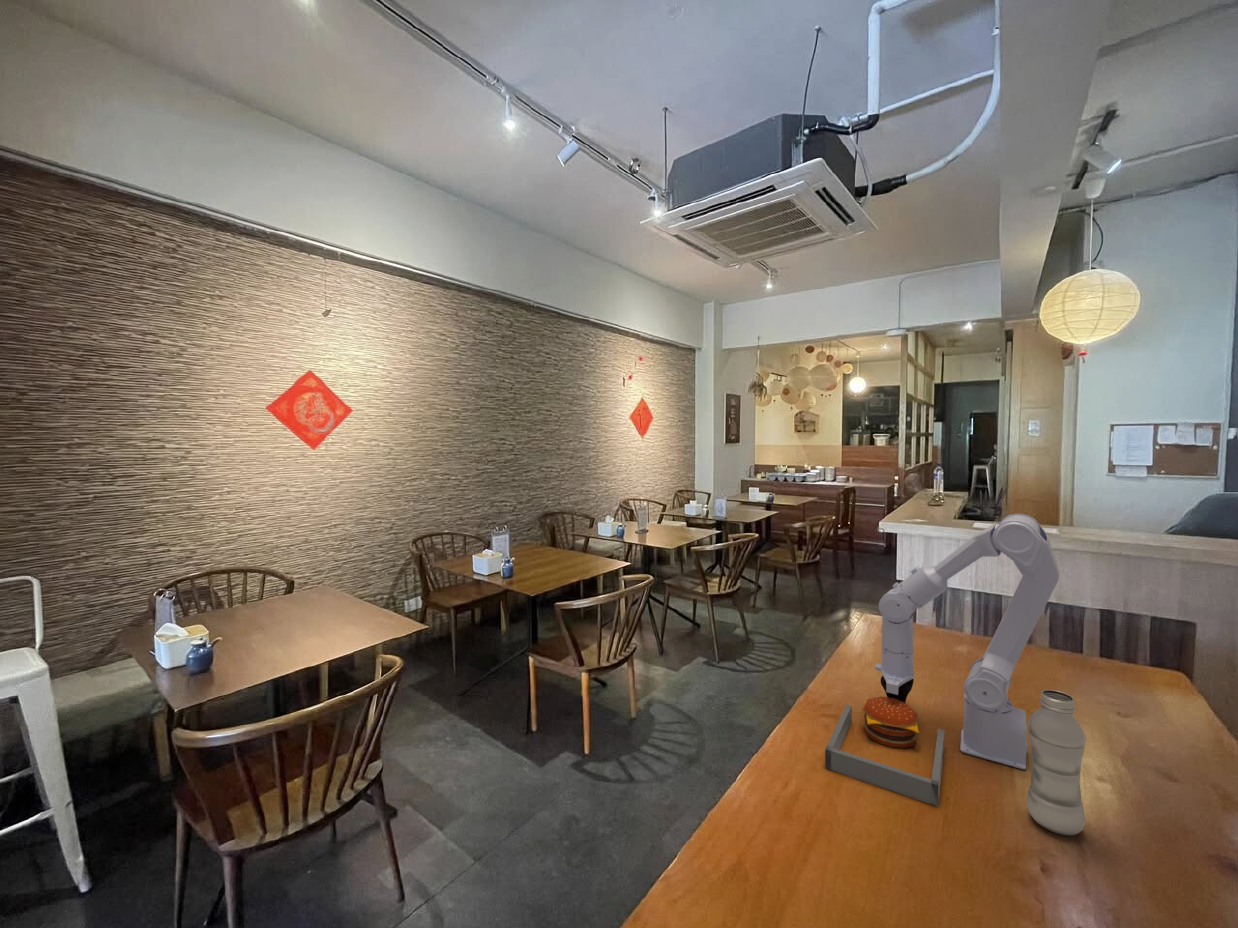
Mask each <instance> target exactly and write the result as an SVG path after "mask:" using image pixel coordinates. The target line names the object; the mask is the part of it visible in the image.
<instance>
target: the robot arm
mask: <svg viewBox="0 0 1238 928" xmlns="http://www.w3.org/2000/svg"><path fill="white" fill-rule="evenodd" d="M1049 538H1050V537H1049V535H1048V533H1047V532H1046V530H1045V529H1044V528H1043V527H1042V526H1041V524H1040V523H1039V522H1038V521H1037V520H1036V519H1035V518H1033V517H1032V516H1030V515H1028V514H1023V513H1013V514H1009V515H1007V516H1005V517H1003V518H1002V519H1001V520H1000V521H999V523H998V525H997V522H996V523H993V524H991V525H989V526H988V527H986V528H984V529H983V530H980V531H979V532H977V533H975V534H974V535H973V536H971V537H970V538H969V539H968V540H967V541H965V542H964V543H962V544H961V545H960V546H959V547H958V548H957V549H955V550H954V551H953V552H951V553H950V554H949V555H947V556H946V557H945V558H944V559H942V560H941V561H940V562H938V563H937V564H935V566H934V565H933V566H932V565H931V566H930V565H922V566H921V567H918V566H915V567H914V568H913V569H911V570H910V573H911V574H910V575H908V577H907V578H905V579H904V580H902V581H901V582H900V583H899V582H895V583H894V584H893V585H892V589H890V590H888V591H887V592H886V593H885V594H883V596H882V597H881V598H880V600H879V603H878V610H879V613H880V614H881V615H882V617H881V663H878V662H877V663H875V665H874V669H875V670H876V671H879V672H880V673H881V674H882V676H880V684H881V686H882V688H883V690H884V692H885V695H886V697H889V698H894V699H897V700H899V701H902V702H904V703H906V704H907V702H906V701H907V697H908V695H909V694H910V692H911V691H912V689H913V686H914V682H915V681H914V678H915V671H914V632H915V631H914V615H913V614H914V613H915V612H916V611H917V610H918V609H922V608H923V607H924V606H926V605H928V604H929V603H930V602H932V601H933V600H935V599H936V598H937V597H938V596H940V595H942V594H943V593H945V592H946V591H947V590H948V580H949V579H951V578H952V577H954V576H956V575H957V574H958V573H960V572H961V571H963V570H964V569H966V568H967V567H969V566H970V565H971V564H972V565H973V563H975V562H976V561H979V559H981V558H984V557H987V558H988V557H990V558H991V557H1000V555H1001V553H1002V554H1004V555H1005V556H1006V557H1007V558H1009V560H1011V561H1013V564H1015V567H1016V568H1017V569H1018V571H1019V572H1020V574H1021V576H1022V577H1021V579H1020V581H1019V583H1018V585H1017V587H1016V589H1015V591H1014V593H1013V595H1012V596H1011V597H1012V598H1011V600H1010V602H1009V603H1008V605H1007V607H1006V609H1005V612H1004V614H1003V616H1002V618H1001V620H1000V622H999V624H998V626H997V628H996V630H995V632H994V634H993V637H992V639H991V640H990V643H989V645H988V647H987V648H986V650H985V653H984V654H983V656H982V657H980V658H979V659H977V660H975V661H974V662H973V663H972V664H971V667H970V672H969V674H968V677H967V678H966V679H965V681H964V683H963V691H964V694H963V729H961V730H960V732H961V733H960V749H959V750H960V752H961V753H963V754H967V755H970V756H974V757H978V758H981V759H984V760H988V761H992V762H995V763H999V764H1002V765H1006V766H1009V767H1014V768H1018V769H1020V770H1026V769H1027V753H1028V751H1029V750H1028V749H1029V747H1028V745H1029V744H1028V742H1027V736H1028V735H1027V733H1028V732H1027V729H1028V726H1027V714H1026V713H1027V712H1026V710H1024V709H1022V708H1019V707H1015V706H1014V705H1013V703H1012V702H1011V701H1010V700H1011V699H1009V697H1008V694H1009V693H1008V692H1009V688H1010V686H1011V685H1012V675H1013V673H1014V669H1015V667H1016V665H1017V663H1018V661H1019V659H1020V657H1021V655H1022V653H1023V651H1024V650H1025V647H1026V645H1027V643H1028V641H1029V639H1030V638H1031V636H1032V634H1033V631H1034V629H1035V628H1036V626H1037V624H1038V621H1039V620H1040V619H1041V618H1040V617H1041V615H1042V613H1043V611H1044V610H1045V608H1046V606H1047V603H1048V602H1049V600H1050V598H1051V595H1052V594H1053V591H1054V590H1055V587H1056V586H1057V583H1058V582H1059V579H1060V569H1059V566H1058V563H1057V560H1056V557H1055V554H1054V552H1053V548H1052V546H1051V542H1050V539H1049Z"/></svg>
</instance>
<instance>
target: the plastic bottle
mask: <svg viewBox="0 0 1238 928" xmlns="http://www.w3.org/2000/svg"><path fill="white" fill-rule="evenodd" d="M1040 696H1041V697H1040V700H1039V704H1040V706H1041V707H1040V708H1039V709H1037V710H1036V711H1035V712H1034V713H1033V714H1031V715H1030V717H1029V719H1028V721H1027V729H1028V735H1029V739H1030V747H1031V748H1030V749H1031V758H1032V759H1031V763H1032V764H1031V765H1032V769H1031V778H1030V785H1029V787H1028V791H1027V793H1026V794H1027V795H1026V805H1027V809H1028V812H1029V815H1030V816H1031V817H1032V818H1033V820H1034V821H1035V822H1036V823H1037V824H1038V825H1040V826H1041V827H1043V828H1045V829H1046V830H1048V831H1050V832H1053V833H1055V834H1059V835H1063V836H1070V837H1071V836H1075V835H1078V834H1079V833H1080V832H1082V831H1083V830H1084V826H1085V824H1086V823H1085V822H1086V816H1085V810H1084V805H1083V801H1082V793H1081V792H1082V791H1081V781H1080V780H1081V768H1082V761H1083V756H1084V753H1085V749H1086V748H1085V747H1086V742H1087V741H1086V740H1087V737H1086V734H1085V730H1084V729H1083V727H1082V726H1081V724H1080V723H1079V721H1078V720H1077V719H1076V717H1075V716H1074V715H1073V714H1075V711H1076V708H1075V698H1074V697H1073V696H1072V695H1070V694H1068V693H1066V692H1063V691H1059V690H1056V689H1043V690H1041V693H1040Z"/></svg>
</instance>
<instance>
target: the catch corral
mask: <svg viewBox="0 0 1238 928" xmlns="http://www.w3.org/2000/svg"><path fill="white" fill-rule="evenodd" d="M852 723H853V706H852V705H851V704H848V703H846V704H845V707H844V709H843V711H842V713H841V715H840V717H839V719H838V721H837V724H836V726H835V727H834V730H833V731H832V734H831V736H830V738H829V740H828V742H827V744H826V747H825V748H824V753H825V754H824V763H825V764H824V766H825V767H824V768H825V769H827V770H828V771H829V770H830V771H833V772H834V773H835V772H836V773H839V774H842V775H844V776H847V777H851V778H853V779H856V780H858V781H862V782H865V783H867V784H871V785H873V786H876V787H879V788H883V789H886V790H888V791H891V792H895V793H897V794H900V795H903V796H905V797H908V798H911V799H915V800H918V801H920V802H923V803H927V804H929V805H932V806H934V807H939V802H940V791H941V782H942V773H943V765H944V763H943V762H944V756H945V753H944V752H945V729H941V728H937V735H936V743H935V751H934V758H933V765H932V773H931V778H929V777H926V776H925V777H924V776H922V775H918V774H915V773H913V772H912V773H911V772H909V771H906V770H902V769H899V768H896V767H893V766H891V765H887V764H884V763H881V762H877V761H876V760H875V761H874V760H872V759H868V758H865V757H863V756H859V755H856V754H852V753H850V752H846V751H843V750H841V747H842V745H843V744H844V742H845V739H846V736H847V734H848V732H849V729H850V726H851V725H852Z"/></svg>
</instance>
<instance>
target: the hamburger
mask: <svg viewBox="0 0 1238 928" xmlns="http://www.w3.org/2000/svg"><path fill="white" fill-rule="evenodd" d="M863 703H864V706H863V708H862V710H863V711H864V716H863V718H864V720H865V721H864V726H863V729H864V730H865V731H864V732H865V733H866V735H867V736H868V737H870V738H871V739H872V740H873V741H874V742H877V743H879V744H881V745H884V746H887V747H891V748H899V749H906V748H909V747H912V746H914V745H915V744H916V743H917V734H920V731H919V727H918V726H919V725H918V723H917V721H918V719H919V718H918V717H919V716H918V714H917V712H916V711H915V709H913V708H912V707H911V706H910V705H909V704H908V703H907V702H906V703H904V702H902V701H899V700H897V699H894V698H889V697H887V696H876V697H870V698H868V699H866V700H865V701H863Z"/></svg>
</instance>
